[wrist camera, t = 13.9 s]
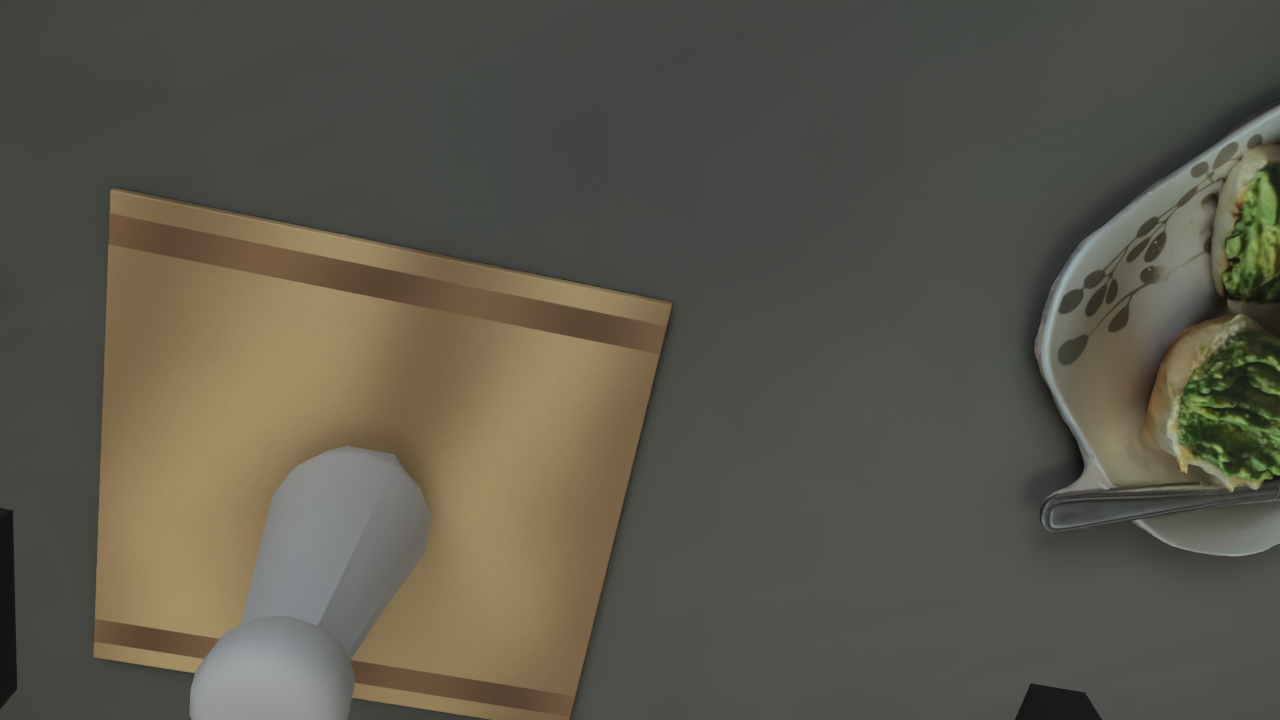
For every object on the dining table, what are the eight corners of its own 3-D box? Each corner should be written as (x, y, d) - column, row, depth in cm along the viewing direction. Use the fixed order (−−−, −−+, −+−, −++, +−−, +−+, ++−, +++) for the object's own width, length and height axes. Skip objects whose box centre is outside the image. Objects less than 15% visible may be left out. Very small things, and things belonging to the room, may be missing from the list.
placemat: (671, 301, 37) (672, 305, 37) (567, 725, 44) (566, 732, 44) (115, 187, 35) (110, 189, 35) (97, 651, 42) (92, 657, 41)
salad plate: (1108, 635, 43) (1164, 709, 39) (907, 315, 38) (946, 360, 33) (1551, 395, 40) (1667, 447, 35) (1402, 2, 34) (1518, 6, 30)
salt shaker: (299, 557, 40) (166, 811, 28) (279, 427, 38) (126, 641, 26) (445, 554, 40) (376, 805, 28) (434, 424, 38) (354, 635, 26)
